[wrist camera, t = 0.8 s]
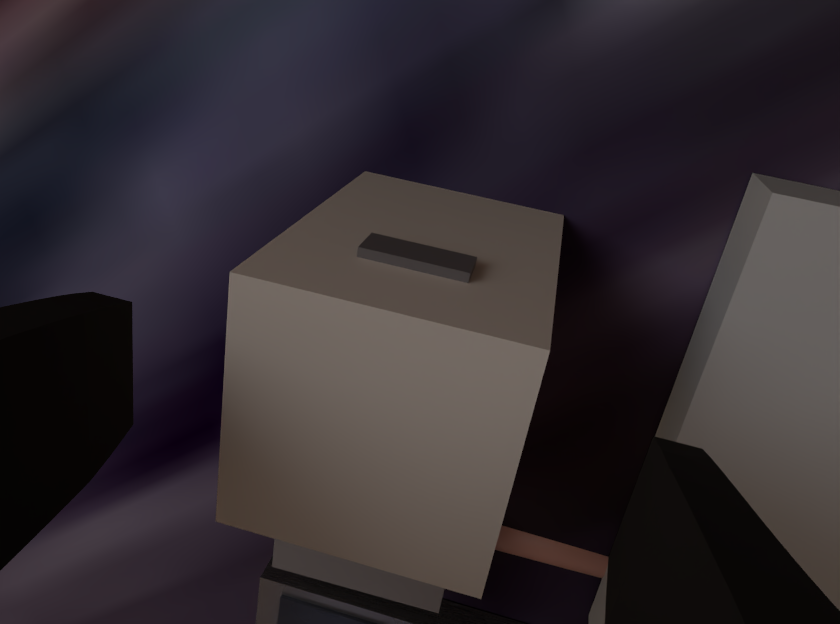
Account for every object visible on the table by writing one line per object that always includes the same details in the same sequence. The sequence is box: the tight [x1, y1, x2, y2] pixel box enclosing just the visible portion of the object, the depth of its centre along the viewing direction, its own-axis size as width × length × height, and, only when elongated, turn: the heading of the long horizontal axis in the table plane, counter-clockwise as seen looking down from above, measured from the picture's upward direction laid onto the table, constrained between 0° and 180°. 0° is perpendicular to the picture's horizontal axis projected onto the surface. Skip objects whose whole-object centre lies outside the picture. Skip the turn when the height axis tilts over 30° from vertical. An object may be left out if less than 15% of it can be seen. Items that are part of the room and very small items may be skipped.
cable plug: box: [272, 526, 608, 613], centre depth 17 cm, size 10×2×2 cm, turn 80°
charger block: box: [216, 171, 564, 599], centre depth 12 cm, size 4×4×6 cm
